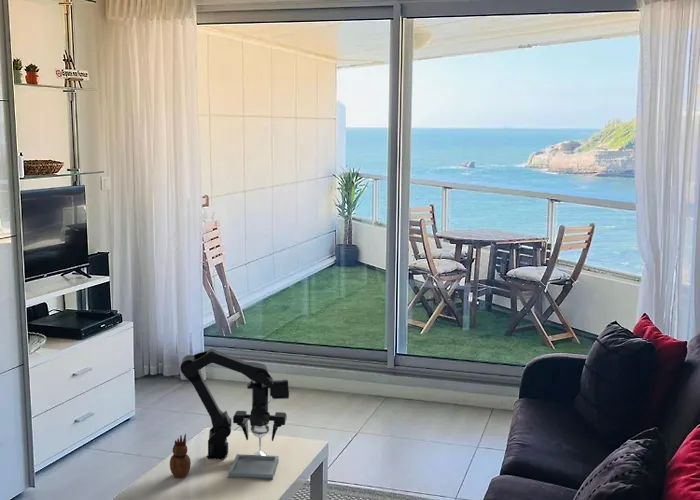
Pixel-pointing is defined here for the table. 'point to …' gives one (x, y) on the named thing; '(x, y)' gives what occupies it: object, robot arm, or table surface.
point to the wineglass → (260, 435)
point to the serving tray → (253, 466)
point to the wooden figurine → (180, 459)
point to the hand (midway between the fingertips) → (259, 440)
